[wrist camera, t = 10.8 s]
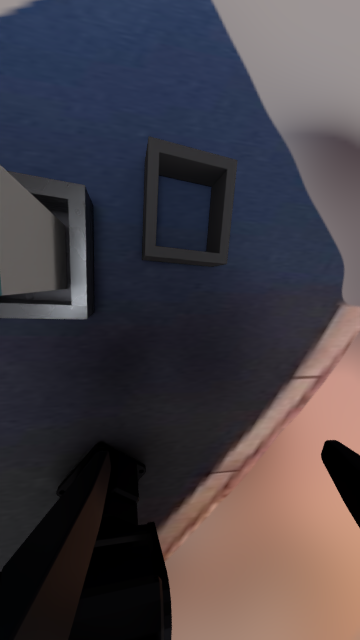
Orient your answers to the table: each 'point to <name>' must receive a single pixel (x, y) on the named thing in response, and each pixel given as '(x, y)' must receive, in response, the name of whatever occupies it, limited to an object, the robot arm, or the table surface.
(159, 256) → the frame
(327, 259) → the table surface
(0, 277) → the plug
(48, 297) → the port
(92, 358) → the table surface
